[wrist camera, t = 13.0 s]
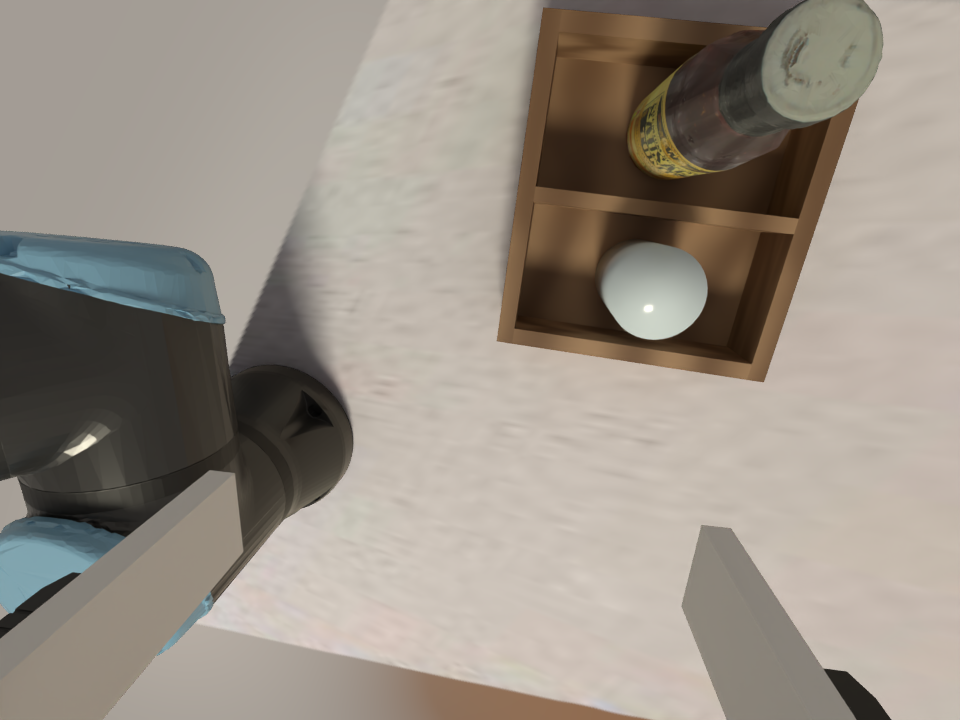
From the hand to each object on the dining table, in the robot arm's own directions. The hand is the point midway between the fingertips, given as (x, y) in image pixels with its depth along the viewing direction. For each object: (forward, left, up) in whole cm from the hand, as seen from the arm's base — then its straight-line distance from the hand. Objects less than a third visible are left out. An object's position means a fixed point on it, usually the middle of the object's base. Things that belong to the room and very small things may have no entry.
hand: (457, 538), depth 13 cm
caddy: (+9, +10, -30) cm, 33 cm away
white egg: (+9, +5, -29) cm, 31 cm away
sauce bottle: (+9, +16, -29) cm, 34 cm away
